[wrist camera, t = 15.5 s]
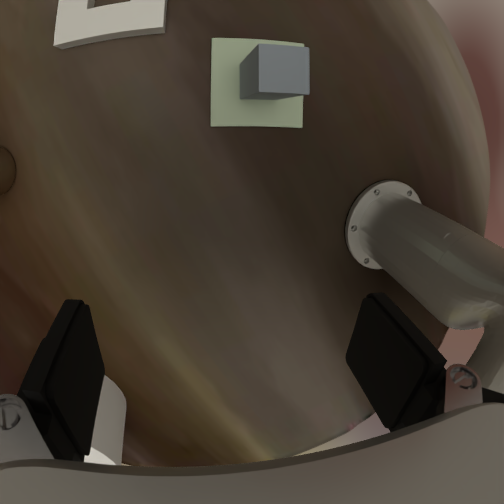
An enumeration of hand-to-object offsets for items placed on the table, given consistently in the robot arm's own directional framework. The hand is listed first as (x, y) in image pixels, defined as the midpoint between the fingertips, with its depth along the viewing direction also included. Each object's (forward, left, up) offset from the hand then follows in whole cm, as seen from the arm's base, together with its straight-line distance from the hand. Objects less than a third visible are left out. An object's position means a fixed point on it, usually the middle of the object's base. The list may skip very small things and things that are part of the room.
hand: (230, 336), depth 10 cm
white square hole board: (+10, -23, -26) cm, 36 cm away
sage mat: (-6, -11, -26) cm, 29 cm away
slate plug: (-6, -11, -26) cm, 29 cm away
